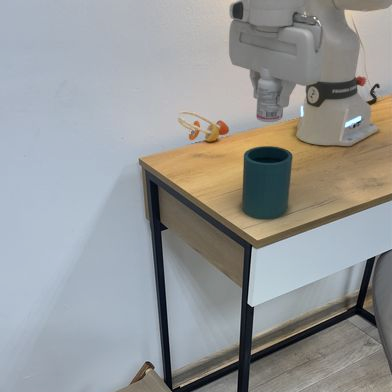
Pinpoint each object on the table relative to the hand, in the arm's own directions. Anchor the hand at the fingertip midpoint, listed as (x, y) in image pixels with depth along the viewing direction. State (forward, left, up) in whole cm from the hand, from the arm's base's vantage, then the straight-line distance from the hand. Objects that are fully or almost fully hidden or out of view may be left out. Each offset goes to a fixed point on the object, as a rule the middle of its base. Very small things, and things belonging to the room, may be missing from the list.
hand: (270, 102), depth 88 cm
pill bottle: (0, 0, -3) cm, 3 cm away
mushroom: (-7, -42, -13) cm, 44 cm away
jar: (0, 0, -20) cm, 20 cm away
